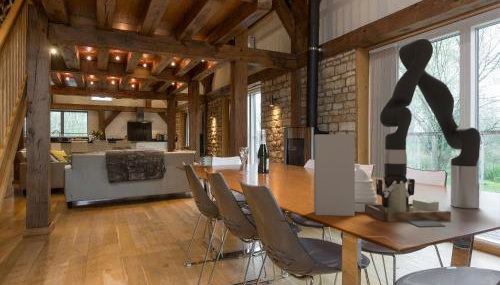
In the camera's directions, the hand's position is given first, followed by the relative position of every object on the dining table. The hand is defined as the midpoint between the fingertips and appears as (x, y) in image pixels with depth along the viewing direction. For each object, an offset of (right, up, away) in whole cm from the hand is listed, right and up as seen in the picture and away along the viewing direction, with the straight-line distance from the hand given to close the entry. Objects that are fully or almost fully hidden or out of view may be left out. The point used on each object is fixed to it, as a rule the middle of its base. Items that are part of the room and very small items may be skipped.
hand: (395, 207), depth 119 cm
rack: (+4, -3, 0) cm, 5 cm away
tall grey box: (-21, -3, +4) cm, 22 cm away
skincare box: (0, -4, 0) cm, 4 cm away
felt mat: (+5, -3, -11) cm, 13 cm away
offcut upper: (+12, -1, +1) cm, 12 cm away
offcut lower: (+12, -4, +1) cm, 12 cm away
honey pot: (-8, -3, +13) cm, 16 cm away
